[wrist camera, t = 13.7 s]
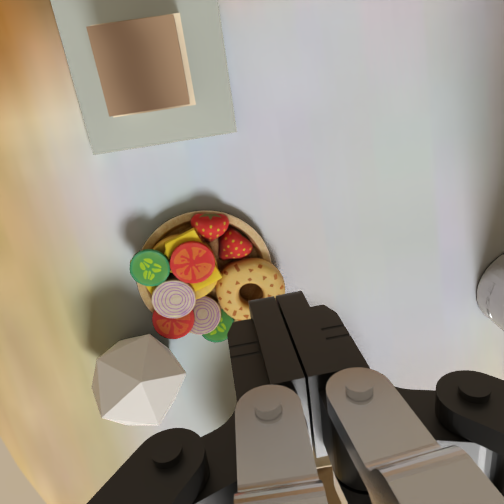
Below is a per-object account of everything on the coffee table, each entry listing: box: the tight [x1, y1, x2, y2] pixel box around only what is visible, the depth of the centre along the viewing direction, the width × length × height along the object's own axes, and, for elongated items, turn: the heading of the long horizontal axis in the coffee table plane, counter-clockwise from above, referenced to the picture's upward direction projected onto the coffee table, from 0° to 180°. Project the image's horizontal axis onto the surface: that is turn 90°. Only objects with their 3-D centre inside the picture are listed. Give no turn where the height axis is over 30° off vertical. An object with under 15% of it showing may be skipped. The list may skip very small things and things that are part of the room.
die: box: [92, 334, 186, 425], centre depth 43 cm, size 8×9×10 cm
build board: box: [50, 0, 237, 155], centre depth 35 cm, size 12×12×1 cm
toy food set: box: [130, 211, 285, 342], centre depth 42 cm, size 13×13×3 cm
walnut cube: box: [86, 14, 190, 117], centre depth 29 cm, size 5×5×5 cm
